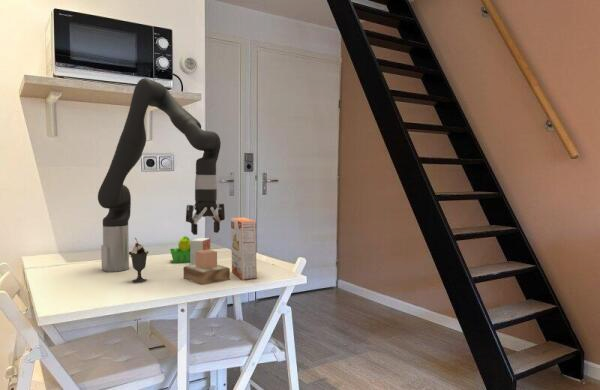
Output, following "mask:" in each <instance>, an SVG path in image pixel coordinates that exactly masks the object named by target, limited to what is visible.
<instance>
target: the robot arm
mask: <svg viewBox="0 0 600 390" xmlns="http://www.w3.org/2000/svg"><path fill="white" fill-rule="evenodd" d="M148 107H153V108H157V109H159V110H160V111H162V112H164V113H165V114H166V115H167V116H168V117H169V119H170V122H171V123H172V125H174V127H175V128H176V129H177V130H178V131H179V132H180V133H182V135H184V136H185V138H186V140H187V141H188V143H189V144H190V146H192V148H194V149H196V150H198V151H199V152H200V151H203V154H202V156H201V157H200V158H197V159H196V161H195V180H194V201H195V204H194V205H193V204H187V205H186V210H185V222H186V223H190V232H191V233H192V235H194V236H196V235H198V222H199V221H200V219H202V217H203V218H205V217H211V218H212V220H213V232H214V233H215V234H217V233H219V232H220V229H221V227H220V226H221V222H223V221H225V218H226V217H225V204H224V203H220V202H219V203H217V200H218V197H217V193H218V192H217V191H218V188H217V187H218V185H217V184H218V182H217V162H218V159H219V155H220V151H221V146H222V145H221V138H220V136H219V134H218V133H216V132H215V131H212V130H211V131H209V130H204V129H202V124H201V123H200V121H199V120H198V119H197V118H196V117H194V116H193V115H192V114H191V113H190V112H188V111H187V110H186V109H185V107H182V106H181V104H180V103H179V102H178V101H177V100H176V99H175V97H173V95H172V94H171V93H170V91H169V90H168V89H167V88H166V87H165V86H164V85H163V84H162V83H160V82H157V81H155V80H152V79H150V78H145V77H144V78H141V79H139V80H138V82H137V83H136V85H135V87H134V89H133V93H132V97H131V102H130V106H129V110H128V112H127V116H126V120H125V123H124V125H123V129H122V132H121V134H120V136H119V139H118V142H117V145H116V148H115V151H114V154H113V157H112V160H111V163H110V165H109V168H108V171H107V173H106V175H105V176H104V178H103V181H102V183H101V184H100V185H101V186H100V187H99V189H98V192H97V201H98V204H99V205H100V207H102V208H103V209H108V213H107V215H106V216H105V217H103V218H102V245H100V246H101V247H100V250H101V252H100V253H101V255H100V256H101V259H100V260H101V270H102V271H104V272H106V273H109V272H112V273H113V272H121V271H126V270H129V269H130V255H129V252H130V249H129V246H130V245H129V244H130V243H129V220H130V218H131V209H132V208H131V206H132V204H131V203H132V202H131V201H132V199H131V198H132V196H131V195H132V194H131V192H130V189H129V187H127V185H125V184H124V182H125V180H126V178H127V176H128V174H129V173H130V172H131V171H132V169H134V167H135V166H136V165H137V163H138V162H139V160H140V159H141V157H142V156H143V151H144V149H145V147H146V142H147V132H146V127H145V118H146V113H147V111H148ZM216 210H217V211H216ZM194 211H195V212H194Z"/></svg>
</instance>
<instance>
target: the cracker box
mask: <svg viewBox="0 0 600 390" xmlns="http://www.w3.org/2000/svg"><path fill="white" fill-rule="evenodd" d="M230 233H231V234H230V236H231V237H230V238H231V239H230V240H231V242H230V243H231V248H230V249H231V272H232V273H233V274H235V276H237V278H239V279H240V280H241V281H247V280H253V279H254V280H256V279H257V268H258V267H257V221H256V220H252V219H250V218H247V217H242V216H241V217H240V216H239V217H230Z"/></svg>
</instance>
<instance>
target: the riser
mask: <svg viewBox="0 0 600 390" xmlns="http://www.w3.org/2000/svg"><path fill="white" fill-rule="evenodd" d="M230 273H231V270H230V268H229V267H228V266H224V265H220V264H217V267H214V268H208V269H201V268H198V267H196V265H191V264H190V265H185V266H183V279H185V280H189V281H191V282H194V283H197V284H199V285H201V286H203V285H208V284H214V283H219V282H224V281H230V280H231V277H230V275H231V274H230Z"/></svg>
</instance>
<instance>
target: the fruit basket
mask: <svg viewBox="0 0 600 390" xmlns="http://www.w3.org/2000/svg"><path fill="white" fill-rule="evenodd" d="M190 241H191V240H190V238H189V236H187V235H184V236H183V237H181V238H180V240H179V241H178V244H177V246H178V247H176V248H170V249H169V250H170V254H171V258H172V262H173V263H174V264H179V263H190Z"/></svg>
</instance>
